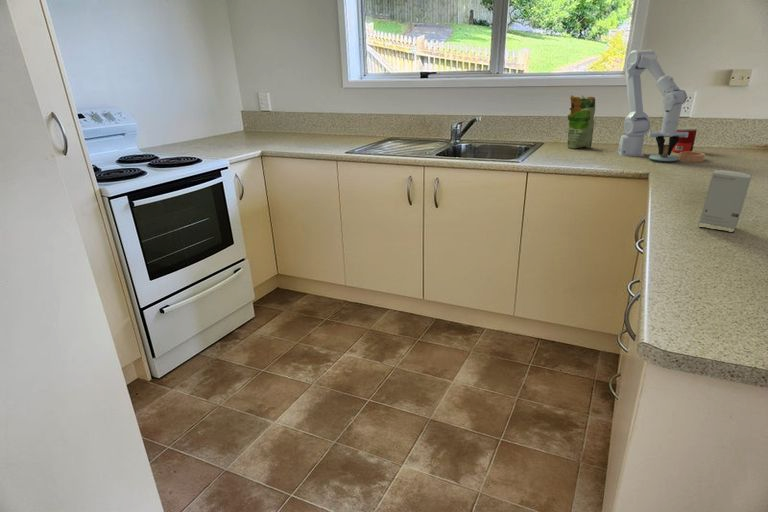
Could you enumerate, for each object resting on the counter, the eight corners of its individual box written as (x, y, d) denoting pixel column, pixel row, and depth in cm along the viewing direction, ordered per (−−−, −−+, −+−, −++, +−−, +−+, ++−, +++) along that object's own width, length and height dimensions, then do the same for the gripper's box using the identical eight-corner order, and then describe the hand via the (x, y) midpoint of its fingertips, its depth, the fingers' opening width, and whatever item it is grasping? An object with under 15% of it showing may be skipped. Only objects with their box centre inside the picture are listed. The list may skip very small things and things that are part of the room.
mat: (653, 163, 201) (653, 162, 201) (647, 158, 210) (647, 158, 210) (680, 163, 199) (680, 162, 199) (672, 159, 208) (672, 158, 208)
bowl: (682, 162, 201) (683, 155, 200) (675, 158, 209) (676, 151, 208) (706, 162, 199) (708, 155, 198) (698, 158, 207) (700, 151, 206)
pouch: (592, 149, 233) (599, 95, 224) (566, 149, 236) (571, 96, 227) (589, 145, 243) (595, 93, 234) (564, 145, 246) (569, 94, 237)
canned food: (694, 154, 215) (699, 129, 211) (675, 154, 217) (679, 129, 213) (688, 151, 222) (693, 126, 218) (669, 151, 224) (673, 126, 220)
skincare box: (697, 227, 129) (710, 173, 123) (702, 221, 133) (714, 168, 128) (735, 233, 124) (750, 176, 118) (738, 227, 128) (752, 172, 122)
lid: (652, 160, 200) (655, 147, 198) (646, 155, 210) (648, 142, 208) (682, 161, 198) (685, 147, 196) (673, 155, 208) (676, 142, 206)
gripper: (653, 122, 196) (648, 156, 201) (693, 122, 193) (686, 156, 198) (649, 120, 203) (643, 153, 208) (687, 120, 199) (681, 153, 205)
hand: (664, 154), depth 203 cm, fingers closed on lid, 3 cm apart
